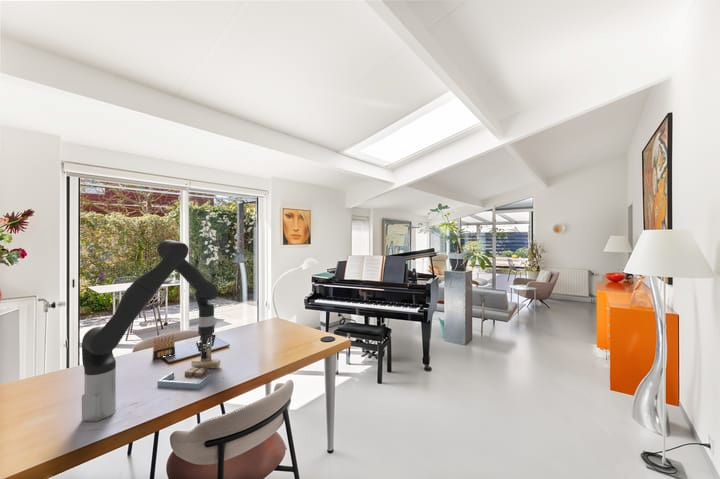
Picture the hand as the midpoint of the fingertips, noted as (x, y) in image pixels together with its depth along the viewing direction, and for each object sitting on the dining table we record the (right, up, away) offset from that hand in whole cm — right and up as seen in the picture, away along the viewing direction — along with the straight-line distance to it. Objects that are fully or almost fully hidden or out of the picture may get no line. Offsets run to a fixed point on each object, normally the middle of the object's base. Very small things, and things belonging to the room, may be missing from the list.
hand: (206, 357), depth 162 cm
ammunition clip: (-30, -5, +13) cm, 33 cm away
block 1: (-3, -6, -8) cm, 10 cm away
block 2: (+2, -6, -8) cm, 10 cm away
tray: (-2, -6, -17) cm, 18 cm away
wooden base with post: (0, -5, 0) cm, 5 cm away
